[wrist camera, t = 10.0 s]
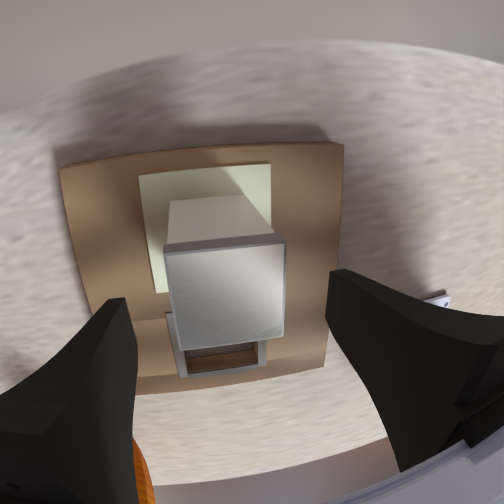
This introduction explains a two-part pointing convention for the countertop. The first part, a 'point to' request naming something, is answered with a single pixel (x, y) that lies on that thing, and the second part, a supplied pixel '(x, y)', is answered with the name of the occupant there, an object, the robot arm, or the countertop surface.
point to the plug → (224, 272)
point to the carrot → (142, 477)
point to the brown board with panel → (155, 236)
